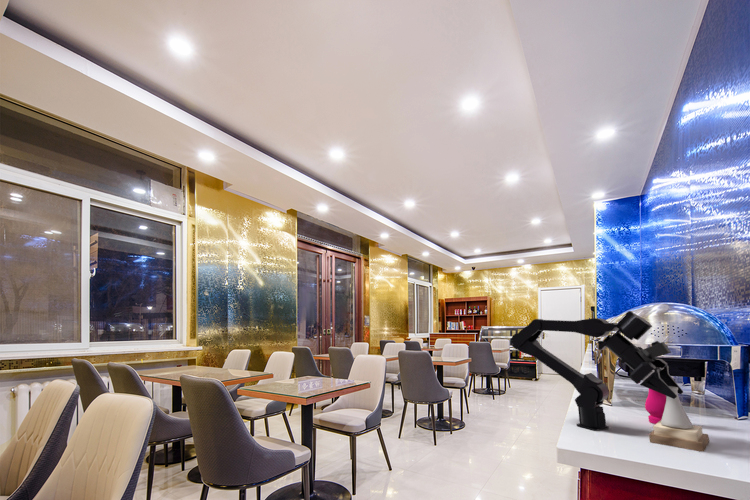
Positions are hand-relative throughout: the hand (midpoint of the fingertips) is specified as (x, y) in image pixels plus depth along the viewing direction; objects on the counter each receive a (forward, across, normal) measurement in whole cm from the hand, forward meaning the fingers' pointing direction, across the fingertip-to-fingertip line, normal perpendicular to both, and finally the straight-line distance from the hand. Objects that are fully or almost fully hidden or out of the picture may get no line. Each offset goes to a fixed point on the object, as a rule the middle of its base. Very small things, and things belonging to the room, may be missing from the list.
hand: (679, 395), depth 103 cm
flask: (+5, 0, +7) cm, 8 cm away
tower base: (+8, 0, +10) cm, 12 cm away
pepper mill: (+2, +21, +15) cm, 26 cm away
